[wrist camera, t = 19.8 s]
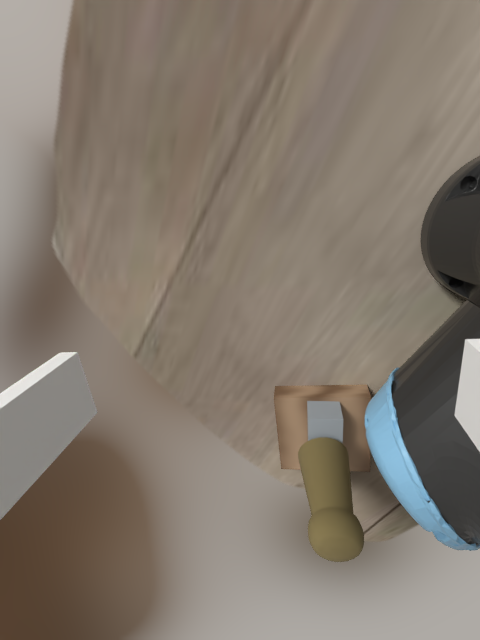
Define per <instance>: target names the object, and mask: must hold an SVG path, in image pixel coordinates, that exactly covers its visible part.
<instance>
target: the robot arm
mask: <svg viewBox="0 0 480 640" xmlns="http://www.w3.org/2000/svg"><path fill="white" fill-rule="evenodd" d="M421 249H422V254H423V258H424V261H425V263H426V266H427V267H428V269H429V271H430V272H431V274H432V275H433V276H434V278H435V279H436V280H437V281H438V282H440V283H441V284H442V285H443V286H445V287H446V288H448V289H449V290H451V291H452V292H454V293H456V294H457V295H459V296H461V297H464V298H466V299H468V300H469V301H468V300H466V301H465V302H464V303H463V304H462V305H461V306H460V307H459V308H458V309H457V310H456V311H455V312H454V313H453V314H452V316H451V317H450V318H449V319H448V320H447V321H446V322H445V323H444V324H443V325H442V326H441V327H440V328H439V329H438V330H437V331H436V332H435V333H434V334H433V335H432V336H431V337H430V338H429V339H428V340H427V341H426V342H425V343H424V344H423V345H422V346H421V347H420V348H419V349H418V350H417V351H416V352H415V353H414V354H413V355H412V356H411V357H410V358H409V359H408V360H407V361H406V362H405V363H404V364H403V365H402V366H401V367H400V368H396V369H395V370H393V371H392V373H391V374H390V375H389V378H388V381H387V382H386V383H385V384H384V385H383V386H382V388H381V389H380V390H379V391H378V392H377V393H376V394H375V396H374V397H373V398H372V399H371V400H370V402H369V403H368V406H367V408H366V411H365V428H366V438H367V442H368V445H369V448H370V451H371V453H372V456H373V458H374V461H375V463H376V465H377V467H378V469H379V471H380V473H381V474H382V476H383V478H384V479H385V481H386V483H387V484H388V486H389V488H390V489H391V491H392V492H393V494H394V495H395V496H396V498H397V499H398V501H399V502H400V503H401V505H402V506H403V507H404V508H405V510H406V511H407V512H408V513H409V514H410V515H411V516H412V518H413V519H414V520H415V521H416V522H417V523H418V524H419V525H420V526H421V527H423V528H424V529H425V530H426V531H429V532H431V531H432V532H433V534H434V535H435V537H436V539H437V540H438V541H440V542H442V543H443V544H445V545H446V546H448V547H450V548H453V549H456V550H470V551H471V550H478V549H479V548H480V308H479V307H480V156H479V157H477V158H475V159H473V160H472V161H470V162H469V163H467V164H466V165H464V166H463V167H461V168H460V169H459V170H458V171H457V172H455V173H454V174H453V175H452V176H451V177H450V178H449V179H448V180H447V181H446V182H445V183H444V184H443V186H442V187H441V188H440V189H439V191H438V192H437V194H436V195H435V197H434V198H433V200H432V202H431V204H430V206H429V208H428V210H427V212H426V215H425V218H424V221H423V225H422V231H421ZM474 304H475V305H474ZM476 305H477V306H478V307H477V306H476ZM96 414H97V410H96V406H95V403H94V400H93V398H92V395H91V392H90V388H89V385H88V382H87V379H86V376H85V373H84V370H83V367H82V364H81V361H80V358H79V355H78V352H66V353H59V354H57V355H56V356H54V357H53V358H52V359H50V360H49V361H47V362H46V363H44V364H43V365H41V366H40V367H38V368H37V369H35V370H34V371H32V372H31V373H30V374H28V375H27V376H25V377H24V378H22V379H21V380H19V381H18V382H16V383H15V384H13V385H12V386H11V387H9V388H7V389H6V390H5V391H3V392H2V393H0V520H1V518H3V516H4V515H5V514H6V513H7V512H8V511H9V510H10V509H11V508H12V507H13V505H14V504H15V503H16V502H17V501H18V500H19V499H20V498H21V496H22V495H23V494H24V493H25V492H26V491H27V490H28V489H29V488H30V487H31V485H32V484H33V483H34V482H35V481H36V480H37V479H38V478H39V476H41V474H42V473H43V472H44V471H45V470H46V469H47V468H48V467H49V466H50V464H51V463H52V462H53V461H54V460H55V459H56V458H57V457H58V456H59V455H60V453H61V452H62V451H63V450H64V449H65V448H66V447H67V446H68V445H69V443H70V442H71V441H72V440H73V439H74V438H75V437H76V435H77V434H78V433H79V432H80V431H81V430H82V429H83V428H84V427H85V426H86V425H87V424H88V422H89V421H90V420H91V419H92V418H93V417H94V416H95V415H96Z"/></svg>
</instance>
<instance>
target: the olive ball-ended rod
mask: <svg viewBox="0 0 480 640" xmlns="http://www.w3.org/2000/svg"><path fill="white" fill-rule="evenodd" d="M298 459H299V463H300V468H301V472H302V476H303V480H304V485H305V489H306V493H307V498H308V501H309V506H310V509H311V515H312V516H311V518H310V520H309V524H308V536H309V541H310V544H311V546H312V548H313V549H314V551H315V552H316V553H317V554H318V555H319V556H320V557H322V558H324V559H327V560H330V561H334V562H344V561H349V560H351V559H354V558H355V557H357V556H358V555H359V554H360V552H361V551H362V548H363V545H364V533H363V529H362V527H361V524H360V522H359V520H358V518H357V517H356V516H355V515H354V514H353V504H352V491H351V479H350V467H349V455H348V451H347V448H346V447H345V446H344V445H343V444H342V443H341V442H339V441H337V440H335V439H332V438H327V437H319V438H315V439H311V440H309V441H307V442H305V443H304V444H303V445H302V446H301V447H300V449H299V451H298Z"/></svg>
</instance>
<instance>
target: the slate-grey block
mask: <svg viewBox="0 0 480 640" xmlns="http://www.w3.org/2000/svg"><path fill="white" fill-rule="evenodd" d="M307 419H308V441H309V440H311V439H315V438H319V437H327V438H332V439H335V440H337V441H339V442H341V443H342V444H343V415H342V411H341V406H340V402H336V401H307Z"/></svg>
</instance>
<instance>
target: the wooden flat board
mask: <svg viewBox="0 0 480 640" xmlns="http://www.w3.org/2000/svg"><path fill="white" fill-rule="evenodd" d="M370 400H371V395H370V392H369V389H368V386H367V385H321V386H275V393H274V404H275V414H276V423H277V432H278V442H279V451H280V460H281V469H301V468H300V463H299V459H298V451H299V449H300V447H301V446H302V445H303V444H304V443H305V442H307V441H308V419H307V401H336V402H340V406H341V411H342V415H343V445H344V446H345V447H346V448H347V451H348V455H349V467H350V471H360V472H370V448H369V445H368V442H367V438H366V428H365V411H366V408H367V406H368V403H369V402H370Z"/></svg>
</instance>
